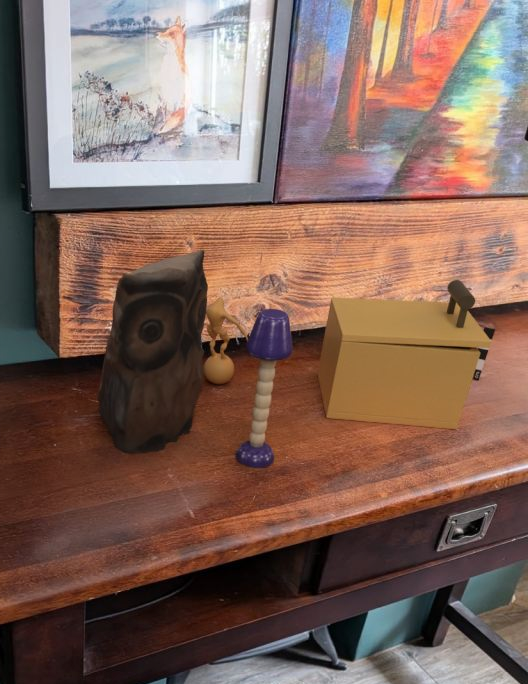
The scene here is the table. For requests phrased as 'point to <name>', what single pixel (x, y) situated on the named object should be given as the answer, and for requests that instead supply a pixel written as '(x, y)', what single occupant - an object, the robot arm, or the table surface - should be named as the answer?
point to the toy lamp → (265, 381)
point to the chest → (394, 380)
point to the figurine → (221, 365)
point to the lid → (411, 320)
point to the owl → (155, 354)
